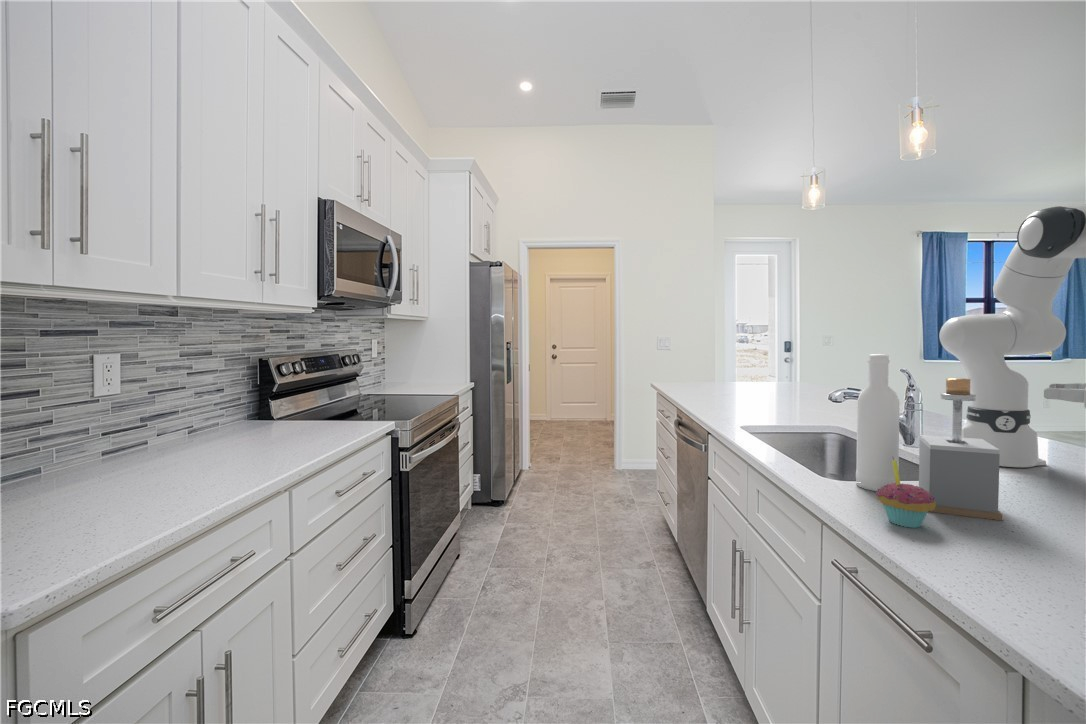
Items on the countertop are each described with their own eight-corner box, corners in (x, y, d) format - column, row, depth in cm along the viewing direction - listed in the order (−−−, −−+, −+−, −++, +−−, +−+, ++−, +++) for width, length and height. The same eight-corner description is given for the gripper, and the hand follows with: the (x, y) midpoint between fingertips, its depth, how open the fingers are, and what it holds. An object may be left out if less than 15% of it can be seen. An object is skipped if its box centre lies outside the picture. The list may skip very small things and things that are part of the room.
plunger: (927, 462, 99) (929, 376, 98) (975, 466, 95) (977, 377, 94) (936, 471, 92) (938, 380, 91) (988, 476, 88) (990, 381, 87)
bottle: (865, 491, 104) (867, 355, 102) (849, 481, 111) (850, 354, 110) (906, 493, 102) (909, 354, 101) (887, 482, 110) (888, 353, 108)
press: (915, 494, 101) (916, 434, 101) (983, 501, 96) (984, 438, 95) (926, 511, 92) (927, 445, 91) (1002, 520, 86) (1004, 450, 86)
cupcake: (870, 522, 87) (871, 458, 87) (884, 510, 93) (885, 450, 92) (929, 536, 81) (930, 467, 80) (940, 523, 86) (941, 458, 85)
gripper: (1173, 372, 79) (1052, 369, 90) (1184, 381, 66) (1041, 376, 77) (1172, 409, 80) (1051, 402, 90) (1182, 426, 67) (1040, 415, 77)
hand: (1046, 390), depth 84 cm, fingers open, 8 cm apart
